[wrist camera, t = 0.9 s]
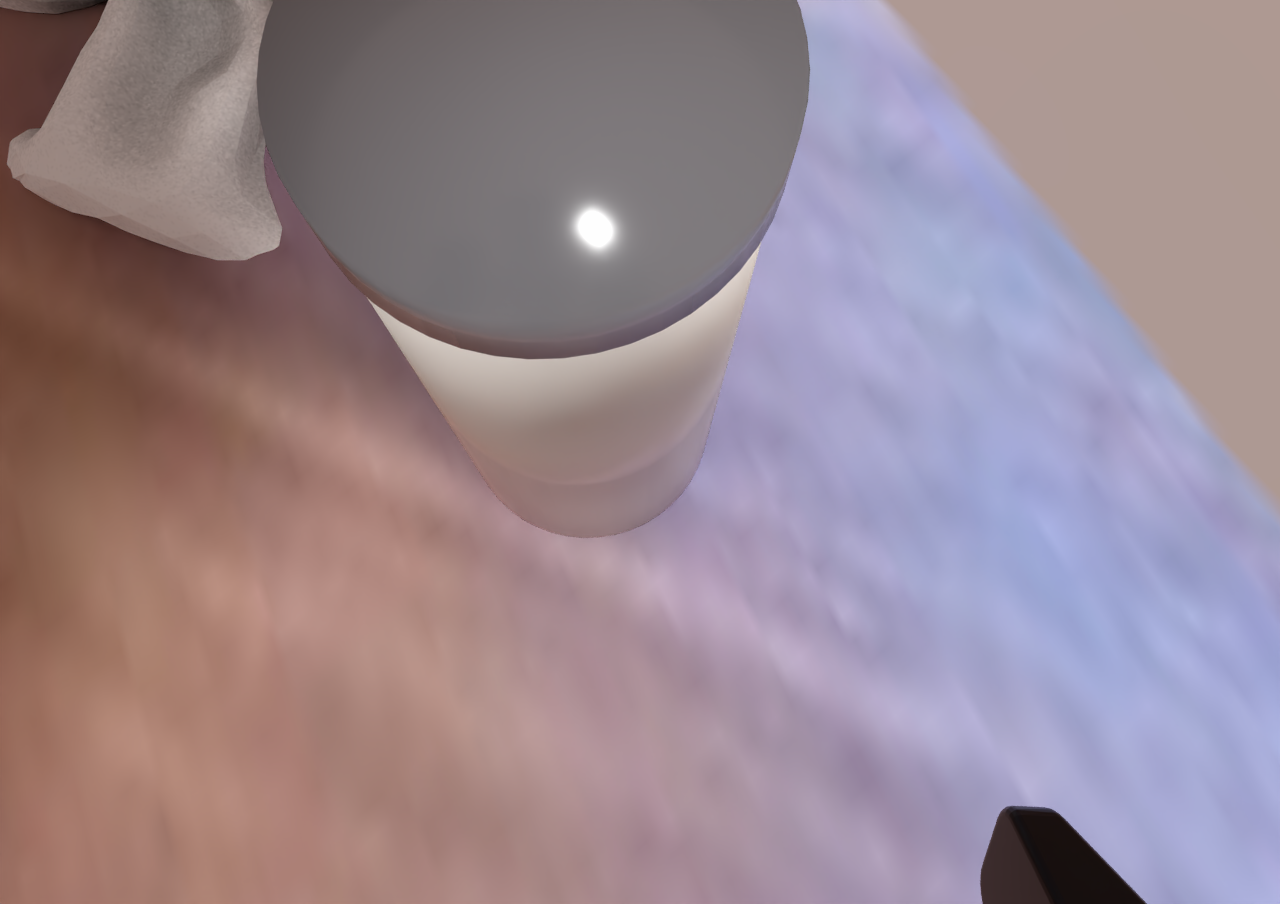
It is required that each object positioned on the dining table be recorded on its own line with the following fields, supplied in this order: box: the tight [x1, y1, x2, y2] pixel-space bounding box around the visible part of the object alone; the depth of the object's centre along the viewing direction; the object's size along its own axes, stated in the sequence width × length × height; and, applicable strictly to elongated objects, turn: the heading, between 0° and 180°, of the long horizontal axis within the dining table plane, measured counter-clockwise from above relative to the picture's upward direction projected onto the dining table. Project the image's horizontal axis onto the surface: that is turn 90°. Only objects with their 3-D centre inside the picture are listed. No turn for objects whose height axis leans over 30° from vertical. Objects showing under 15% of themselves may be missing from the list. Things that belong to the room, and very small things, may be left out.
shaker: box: [256, 0, 810, 538], centre depth 17 cm, size 6×6×13 cm
